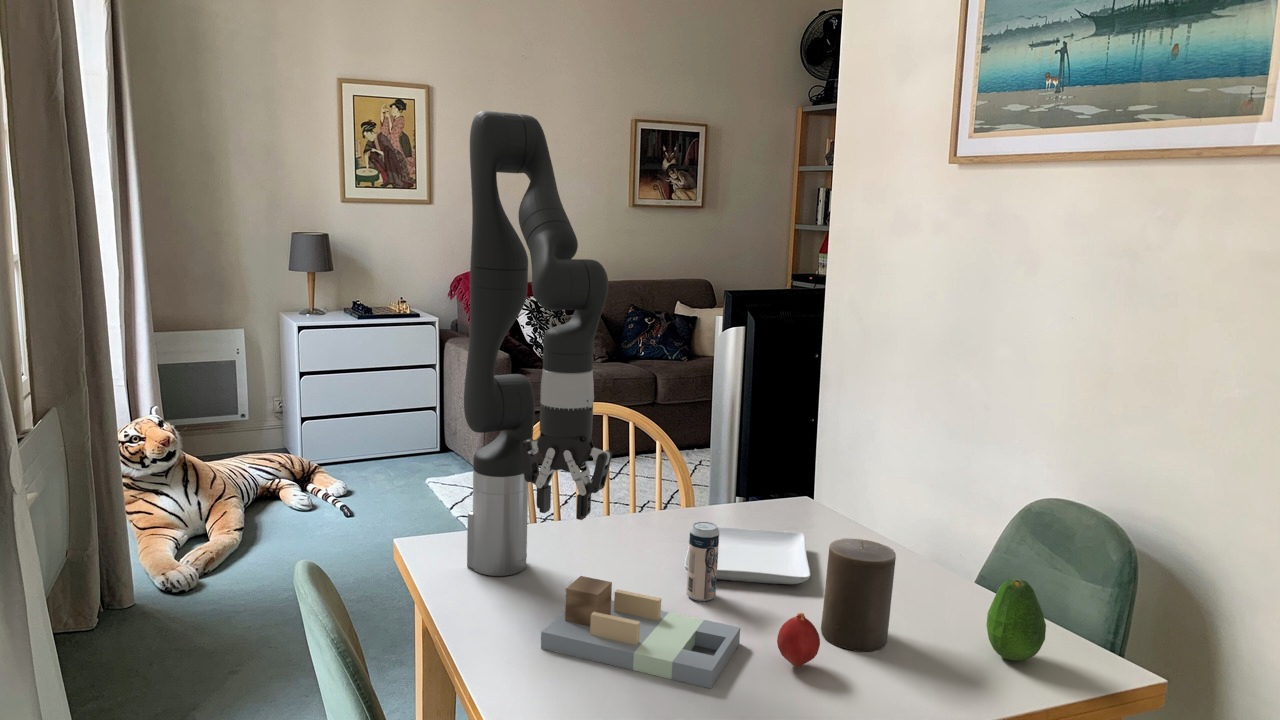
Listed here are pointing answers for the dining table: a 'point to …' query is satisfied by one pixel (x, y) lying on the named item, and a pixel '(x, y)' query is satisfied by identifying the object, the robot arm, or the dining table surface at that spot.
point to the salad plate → (761, 556)
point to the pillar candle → (858, 594)
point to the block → (587, 599)
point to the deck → (647, 640)
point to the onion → (798, 640)
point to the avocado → (1016, 621)
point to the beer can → (703, 561)
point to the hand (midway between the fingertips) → (563, 514)
